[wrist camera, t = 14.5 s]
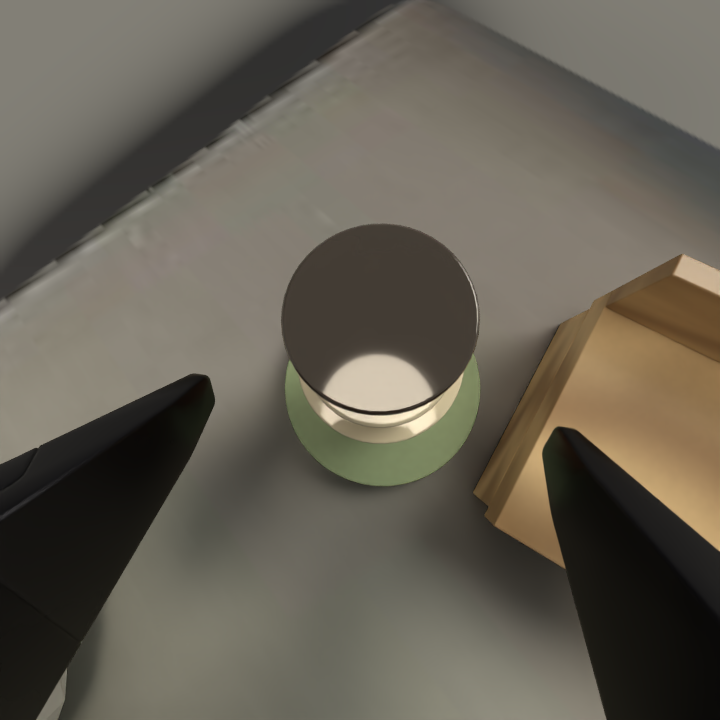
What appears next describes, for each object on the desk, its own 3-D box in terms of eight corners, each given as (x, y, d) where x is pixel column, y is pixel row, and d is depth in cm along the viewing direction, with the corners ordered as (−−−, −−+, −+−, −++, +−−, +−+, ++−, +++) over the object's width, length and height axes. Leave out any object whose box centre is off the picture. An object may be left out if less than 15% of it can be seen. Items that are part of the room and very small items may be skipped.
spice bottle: (375, 449, 15) (363, 545, 4) (318, 380, 16) (173, 302, 5) (444, 389, 15) (605, 326, 4) (384, 324, 16) (391, 125, 5)
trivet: (321, 508, 16) (317, 514, 15) (268, 331, 17) (261, 326, 16) (504, 446, 16) (512, 448, 15) (435, 274, 17) (438, 265, 16)
